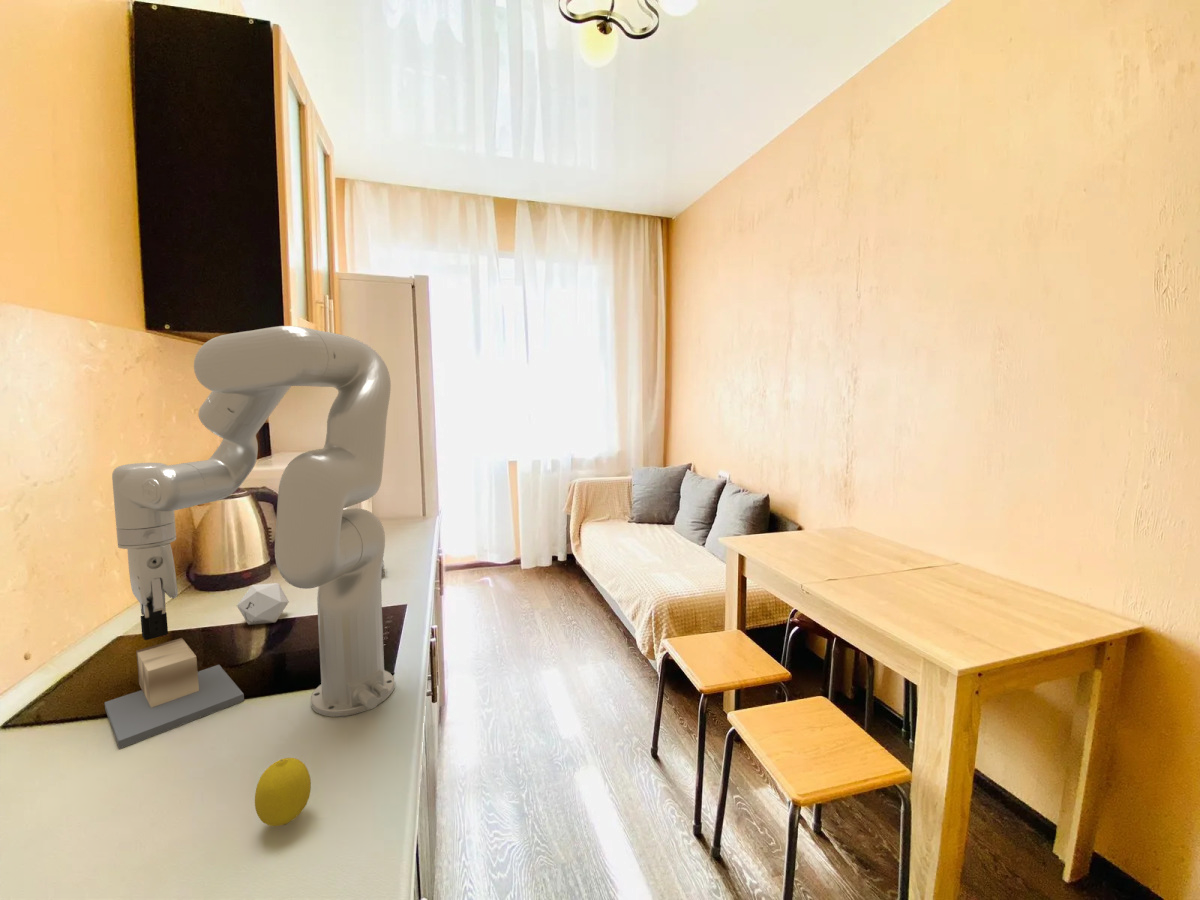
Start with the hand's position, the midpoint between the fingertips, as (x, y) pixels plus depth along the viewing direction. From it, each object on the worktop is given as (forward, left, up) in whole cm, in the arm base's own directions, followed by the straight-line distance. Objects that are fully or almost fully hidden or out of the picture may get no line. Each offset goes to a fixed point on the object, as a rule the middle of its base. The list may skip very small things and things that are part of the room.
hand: (155, 635), depth 88 cm
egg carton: (+24, -50, -8) cm, 56 cm away
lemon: (-51, -3, -8) cm, 52 cm away
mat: (-12, 0, -8) cm, 15 cm away
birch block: (-3, 0, -4) cm, 5 cm away
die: (+13, -20, -8) cm, 25 cm away
